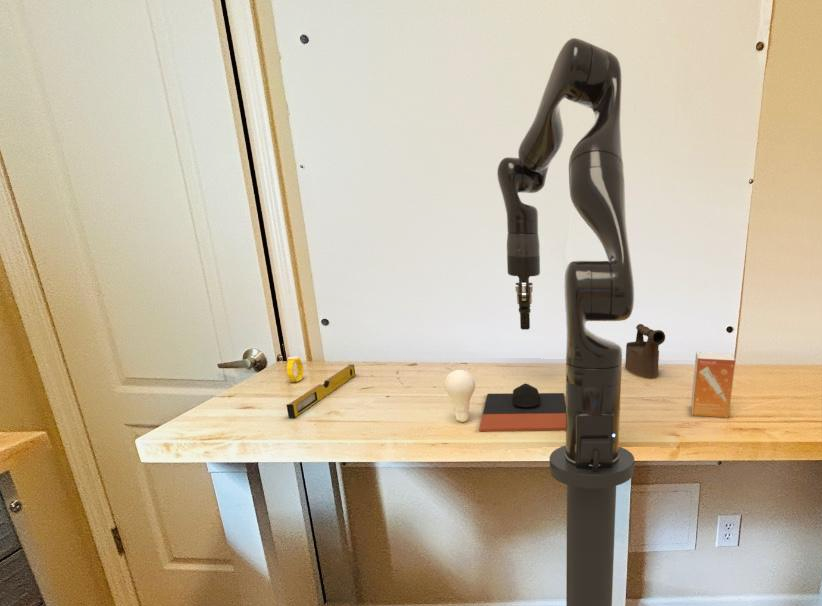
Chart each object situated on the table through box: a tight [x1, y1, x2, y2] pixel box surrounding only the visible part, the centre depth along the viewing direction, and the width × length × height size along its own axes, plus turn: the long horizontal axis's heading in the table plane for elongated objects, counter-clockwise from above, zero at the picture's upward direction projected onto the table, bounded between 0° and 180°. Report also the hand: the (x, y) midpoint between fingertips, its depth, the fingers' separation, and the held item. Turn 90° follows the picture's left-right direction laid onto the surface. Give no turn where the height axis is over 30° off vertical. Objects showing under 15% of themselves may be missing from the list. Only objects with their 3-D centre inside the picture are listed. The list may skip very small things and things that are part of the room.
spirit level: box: [286, 364, 356, 419], centre depth 140 cm, size 33×1×3 cm, turn 0°
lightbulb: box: [443, 369, 476, 423], centre depth 124 cm, size 6×6×11 cm
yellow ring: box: [286, 355, 304, 383], centre depth 150 cm, size 6×3×6 cm, turn 2°
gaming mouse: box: [512, 383, 541, 408], centre depth 138 cm, size 6×15×4 cm, turn 9°
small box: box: [690, 351, 736, 419], centre depth 133 cm, size 8×6×13 cm
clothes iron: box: [624, 323, 666, 379], centre depth 163 cm, size 8×16×13 cm, turn 13°
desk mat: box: [478, 392, 566, 432], centre depth 133 cm, size 24×18×1 cm
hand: (525, 328), depth 146 cm, fingers closed
